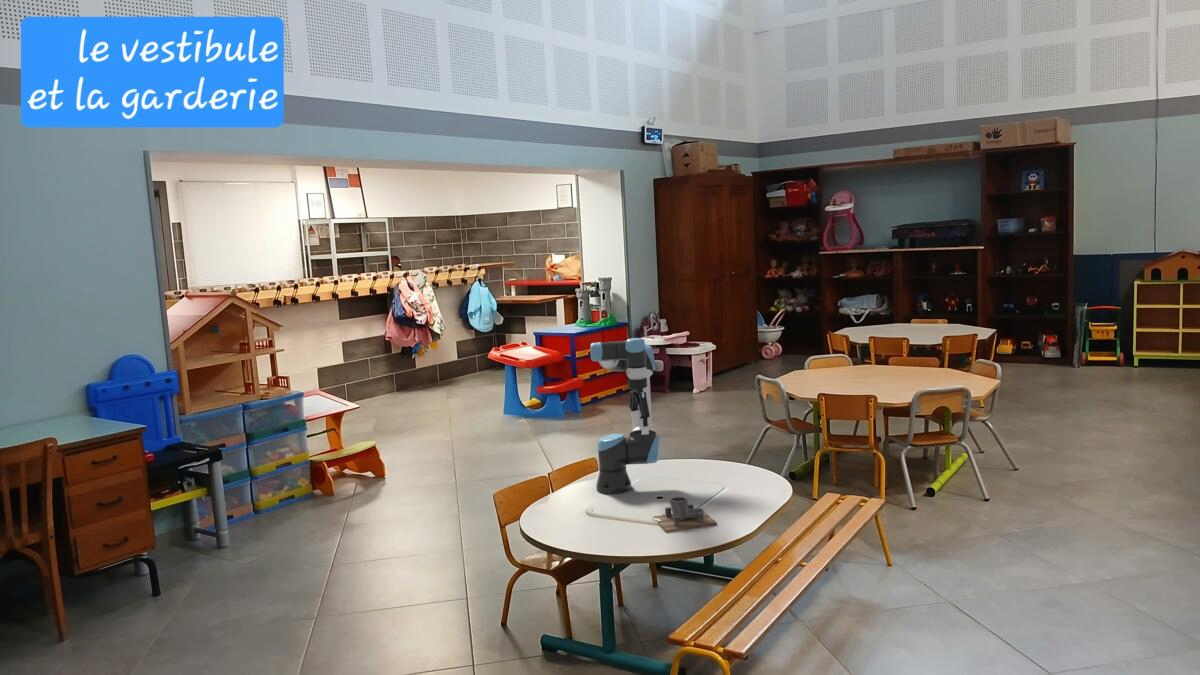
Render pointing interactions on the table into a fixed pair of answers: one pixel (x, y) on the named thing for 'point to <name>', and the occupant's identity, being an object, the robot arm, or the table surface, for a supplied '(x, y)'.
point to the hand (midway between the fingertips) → (640, 430)
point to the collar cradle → (683, 521)
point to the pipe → (683, 508)
